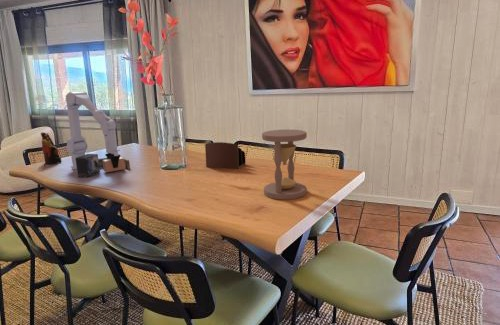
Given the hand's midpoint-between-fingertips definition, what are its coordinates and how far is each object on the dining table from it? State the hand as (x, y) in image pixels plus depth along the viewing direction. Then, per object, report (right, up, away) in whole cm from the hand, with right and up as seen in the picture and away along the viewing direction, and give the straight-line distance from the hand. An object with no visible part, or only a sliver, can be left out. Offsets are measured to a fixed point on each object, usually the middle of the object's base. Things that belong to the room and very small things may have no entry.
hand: (114, 166), depth 188 cm
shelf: (-4, -1, +7) cm, 8 cm away
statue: (-50, +2, +28) cm, 58 cm away
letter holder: (+61, 0, +2) cm, 61 cm away
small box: (-11, -4, -5) cm, 13 cm away
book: (0, -2, 0) cm, 2 cm away
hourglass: (+89, -10, -46) cm, 101 cm away
